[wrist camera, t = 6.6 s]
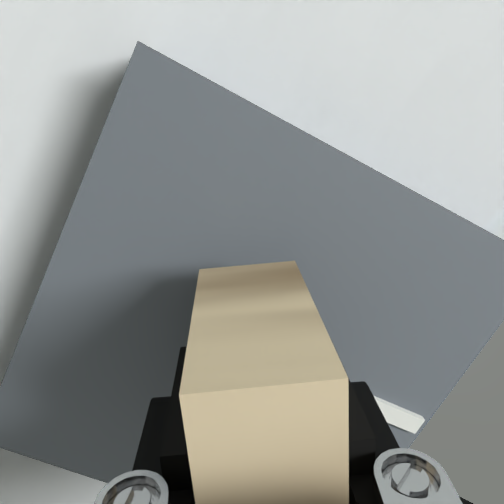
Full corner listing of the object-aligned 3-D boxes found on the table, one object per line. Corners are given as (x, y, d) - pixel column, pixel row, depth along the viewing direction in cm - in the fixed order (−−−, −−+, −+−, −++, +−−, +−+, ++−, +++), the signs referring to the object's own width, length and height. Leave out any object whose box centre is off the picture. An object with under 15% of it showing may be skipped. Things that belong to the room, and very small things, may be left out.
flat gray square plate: (8, 400, 16) (-25, 445, 14) (151, 51, 12) (136, 39, 10) (317, 509, 18) (329, 561, 16) (505, 243, 15) (550, 265, 13)
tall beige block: (201, 256, 12) (179, 395, 6) (289, 248, 12) (348, 377, 6) (233, 529, 15) (238, 788, 9) (302, 522, 15) (350, 774, 9)
